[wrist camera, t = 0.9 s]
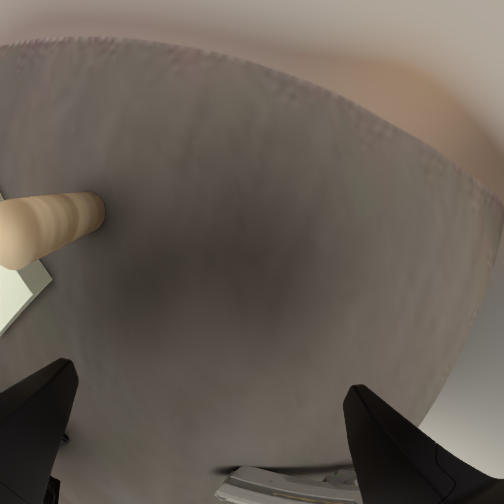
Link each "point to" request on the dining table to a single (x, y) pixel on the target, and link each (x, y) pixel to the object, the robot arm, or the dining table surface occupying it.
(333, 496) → the handgun
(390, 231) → the dining table surface
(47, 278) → the socket block
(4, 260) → the dowel
